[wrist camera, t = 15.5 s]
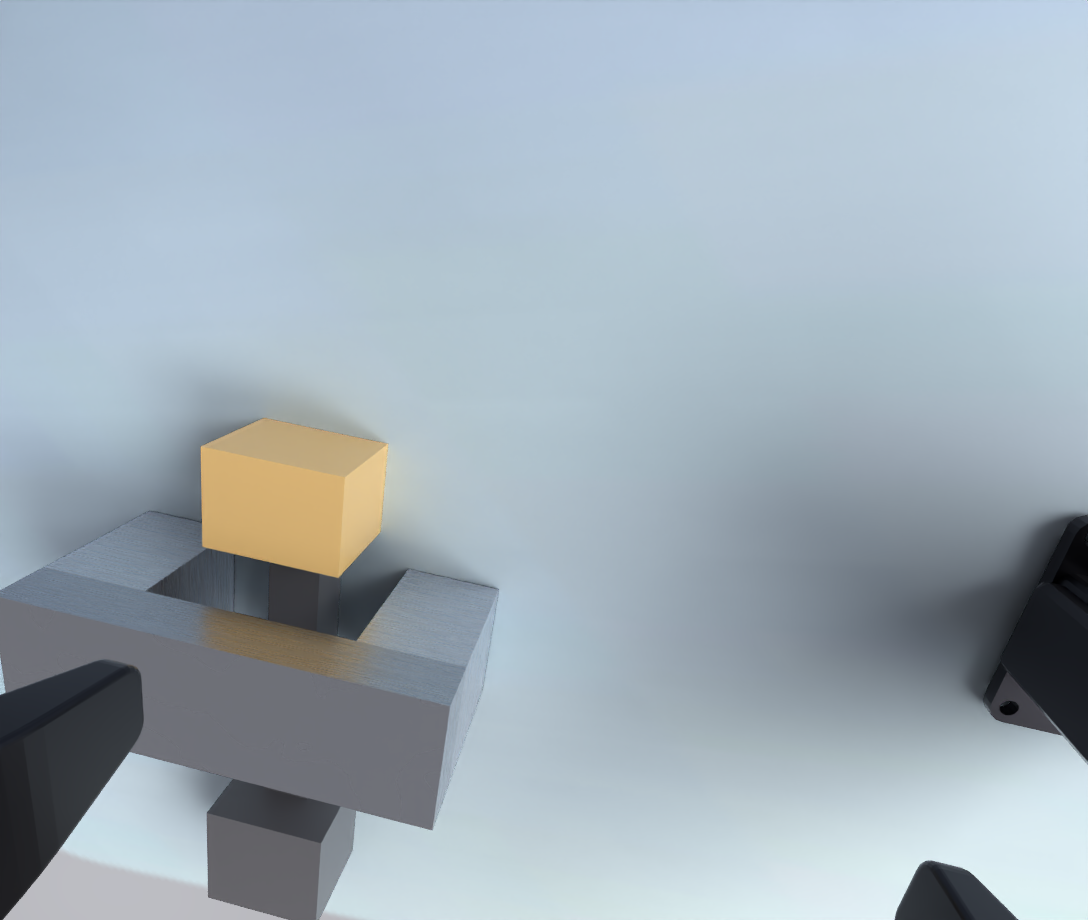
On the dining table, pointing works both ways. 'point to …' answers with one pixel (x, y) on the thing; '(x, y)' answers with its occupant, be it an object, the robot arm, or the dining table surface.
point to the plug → (297, 600)
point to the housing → (263, 669)
